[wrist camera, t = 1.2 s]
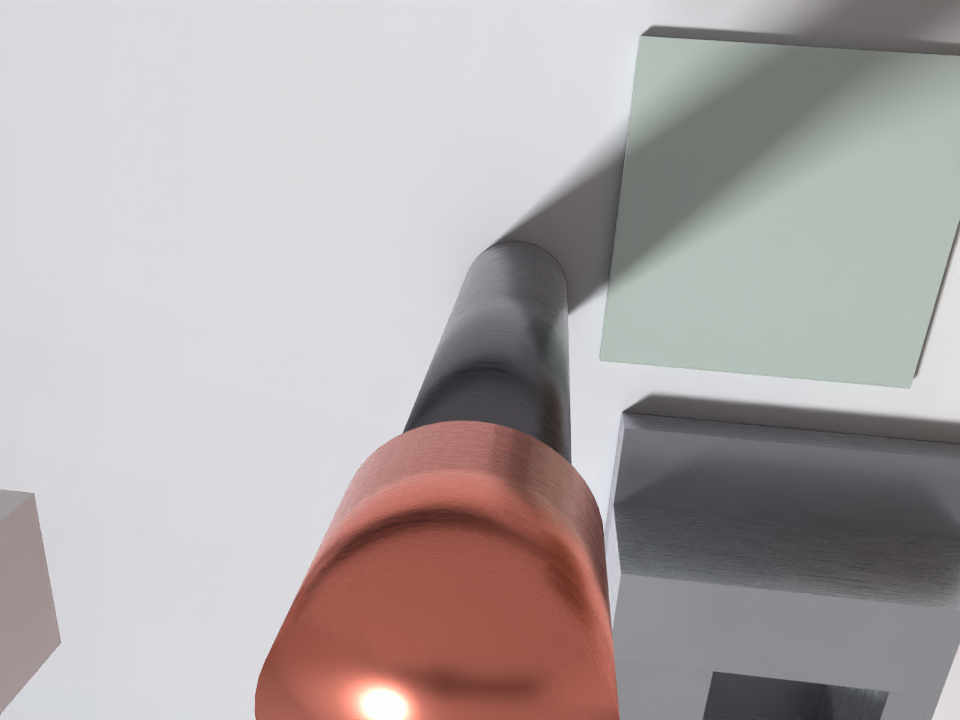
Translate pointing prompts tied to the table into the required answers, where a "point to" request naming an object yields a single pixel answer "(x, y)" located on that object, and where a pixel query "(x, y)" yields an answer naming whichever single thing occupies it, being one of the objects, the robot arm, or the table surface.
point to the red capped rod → (463, 539)
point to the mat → (784, 210)
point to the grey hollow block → (781, 572)
